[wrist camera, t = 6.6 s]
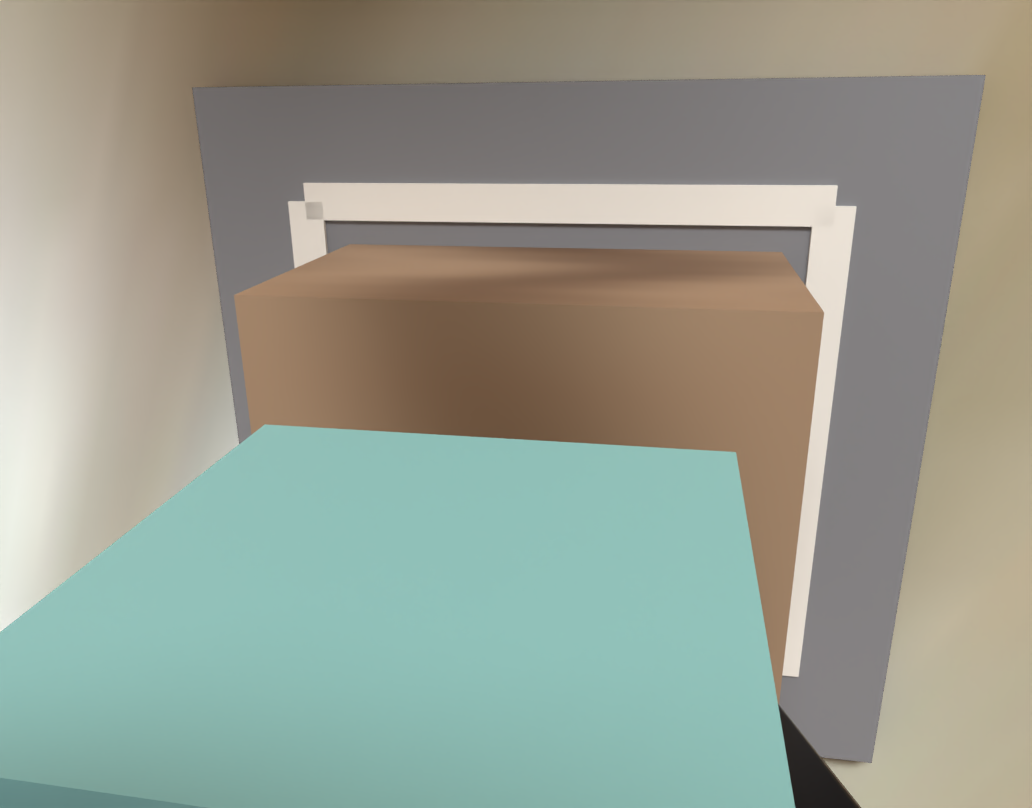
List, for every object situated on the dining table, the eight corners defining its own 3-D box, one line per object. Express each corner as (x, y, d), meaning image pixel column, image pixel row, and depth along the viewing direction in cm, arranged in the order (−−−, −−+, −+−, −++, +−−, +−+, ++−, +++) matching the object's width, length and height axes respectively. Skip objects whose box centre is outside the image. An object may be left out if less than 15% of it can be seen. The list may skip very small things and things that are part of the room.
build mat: (976, 76, 12) (987, 74, 12) (867, 747, 16) (872, 765, 16) (204, 87, 14) (189, 87, 14) (280, 681, 18) (270, 695, 18)
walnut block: (781, 252, 13) (823, 313, 9) (744, 637, 15) (767, 808, 12) (349, 244, 14) (233, 295, 10) (377, 602, 16) (291, 748, 13)
